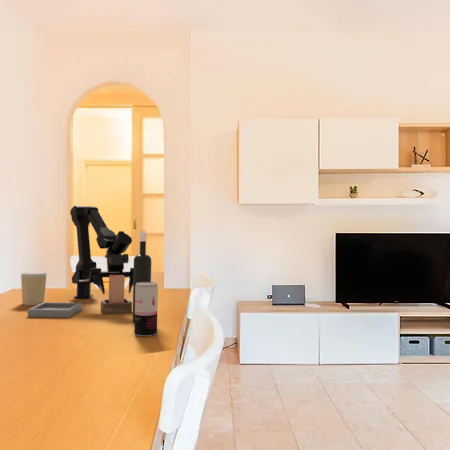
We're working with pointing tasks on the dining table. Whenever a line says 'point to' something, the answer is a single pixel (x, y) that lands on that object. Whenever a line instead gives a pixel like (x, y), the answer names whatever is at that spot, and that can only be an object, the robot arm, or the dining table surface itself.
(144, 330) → the beverage can
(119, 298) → the terracotta block
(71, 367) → the dining table surface
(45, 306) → the grey square tray
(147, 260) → the wine bottle
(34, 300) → the coffee cup
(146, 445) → the dining table surface
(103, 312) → the walnut sleeve
